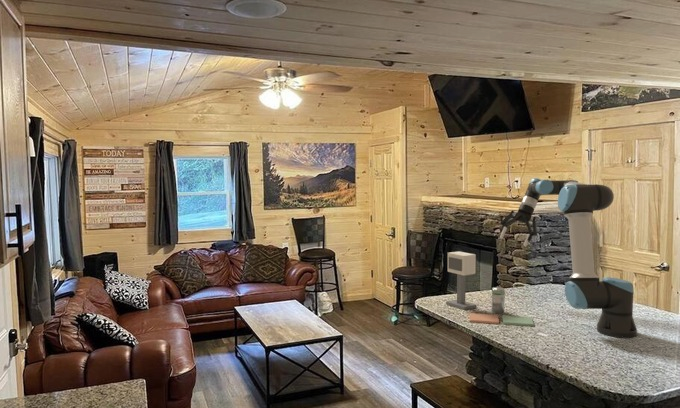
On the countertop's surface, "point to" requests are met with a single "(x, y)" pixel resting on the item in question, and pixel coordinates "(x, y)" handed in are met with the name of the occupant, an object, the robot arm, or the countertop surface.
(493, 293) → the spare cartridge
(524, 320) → the green tile
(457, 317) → the countertop surface
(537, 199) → the robot arm
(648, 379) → the countertop surface
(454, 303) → the mounted unit
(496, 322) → the terracotta tile
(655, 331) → the countertop surface
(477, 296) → the countertop surface
